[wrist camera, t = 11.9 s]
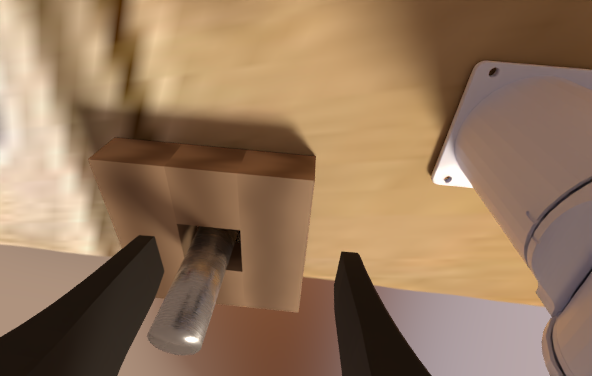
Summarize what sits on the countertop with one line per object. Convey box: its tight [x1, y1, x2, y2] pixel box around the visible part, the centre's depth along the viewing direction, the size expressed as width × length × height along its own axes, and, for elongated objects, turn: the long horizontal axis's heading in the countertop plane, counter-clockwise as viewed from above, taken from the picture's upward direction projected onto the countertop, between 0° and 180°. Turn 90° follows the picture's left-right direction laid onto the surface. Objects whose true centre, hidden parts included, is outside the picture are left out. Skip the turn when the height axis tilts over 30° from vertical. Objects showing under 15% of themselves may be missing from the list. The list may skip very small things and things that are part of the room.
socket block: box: [88, 138, 316, 312], centre depth 24 cm, size 14×14×3 cm
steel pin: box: [147, 226, 239, 355], centre depth 21 cm, size 3×3×10 cm
